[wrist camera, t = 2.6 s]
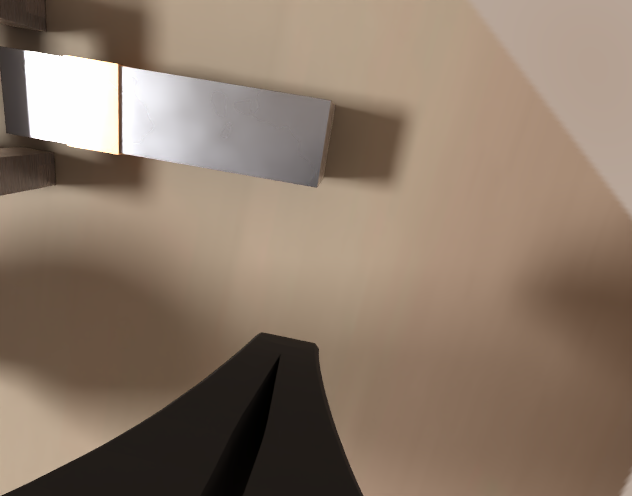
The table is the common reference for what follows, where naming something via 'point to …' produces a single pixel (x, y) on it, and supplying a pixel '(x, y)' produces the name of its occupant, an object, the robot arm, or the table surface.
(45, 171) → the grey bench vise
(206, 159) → the brushed steel block
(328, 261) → the table surface
